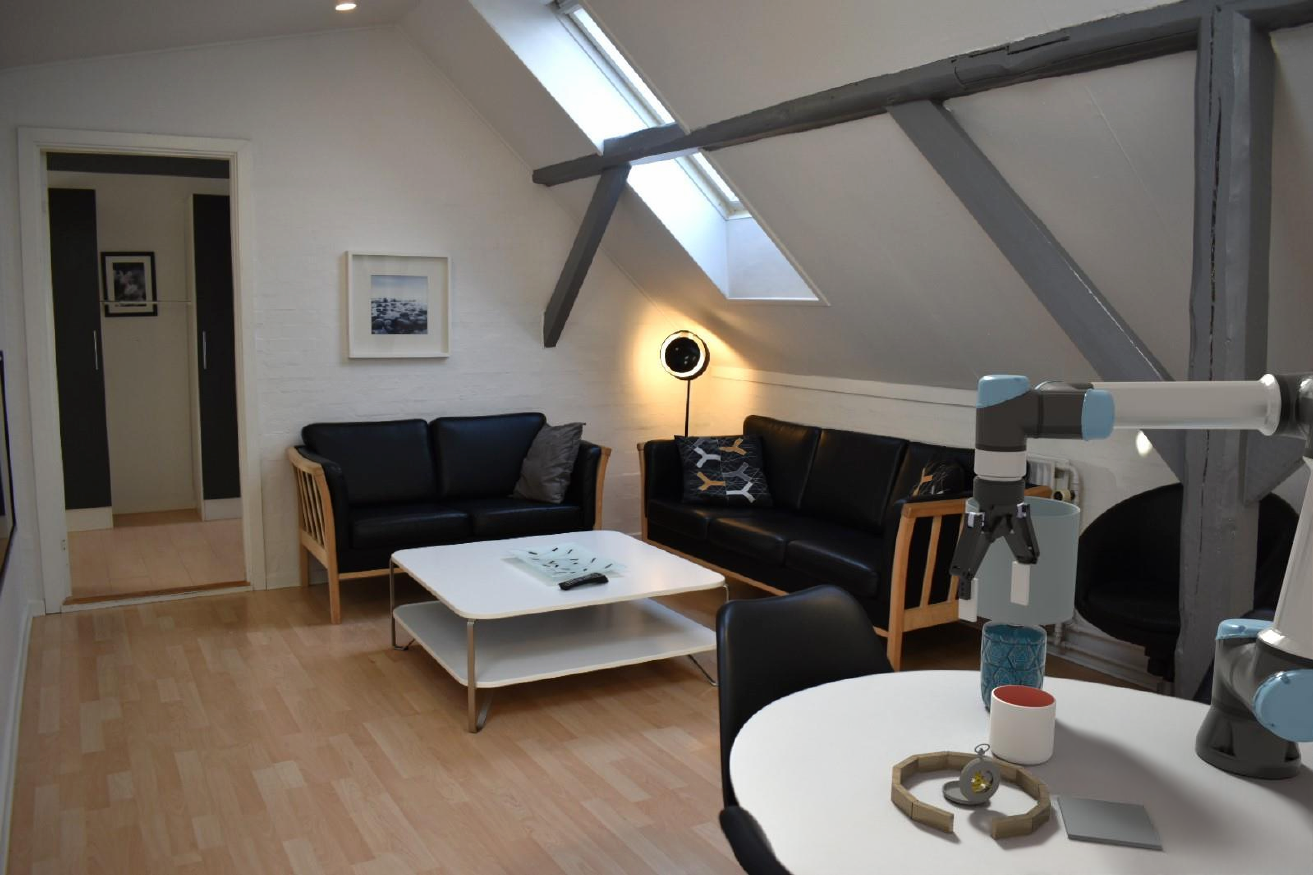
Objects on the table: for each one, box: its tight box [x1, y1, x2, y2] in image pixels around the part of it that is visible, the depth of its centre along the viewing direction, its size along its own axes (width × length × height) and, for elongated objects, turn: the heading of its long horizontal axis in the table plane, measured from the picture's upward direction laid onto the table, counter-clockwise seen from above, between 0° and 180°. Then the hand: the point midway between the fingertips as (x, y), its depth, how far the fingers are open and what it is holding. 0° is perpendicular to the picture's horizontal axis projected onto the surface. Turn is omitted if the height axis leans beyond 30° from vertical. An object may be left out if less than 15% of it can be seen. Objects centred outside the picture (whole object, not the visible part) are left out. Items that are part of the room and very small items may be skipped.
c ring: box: [890, 750, 1052, 840], centre depth 158 cm, size 22×22×2 cm
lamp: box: [965, 495, 1081, 710], centre depth 191 cm, size 19×19×38 cm
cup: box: [988, 685, 1057, 766], centre depth 174 cm, size 10×10×10 cm
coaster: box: [1056, 794, 1163, 851], centre depth 152 cm, size 12×12×1 cm
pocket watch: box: [941, 743, 1002, 805], centre depth 158 cm, size 8×8×10 cm
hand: (994, 611), depth 165 cm, fingers open, 13 cm apart
